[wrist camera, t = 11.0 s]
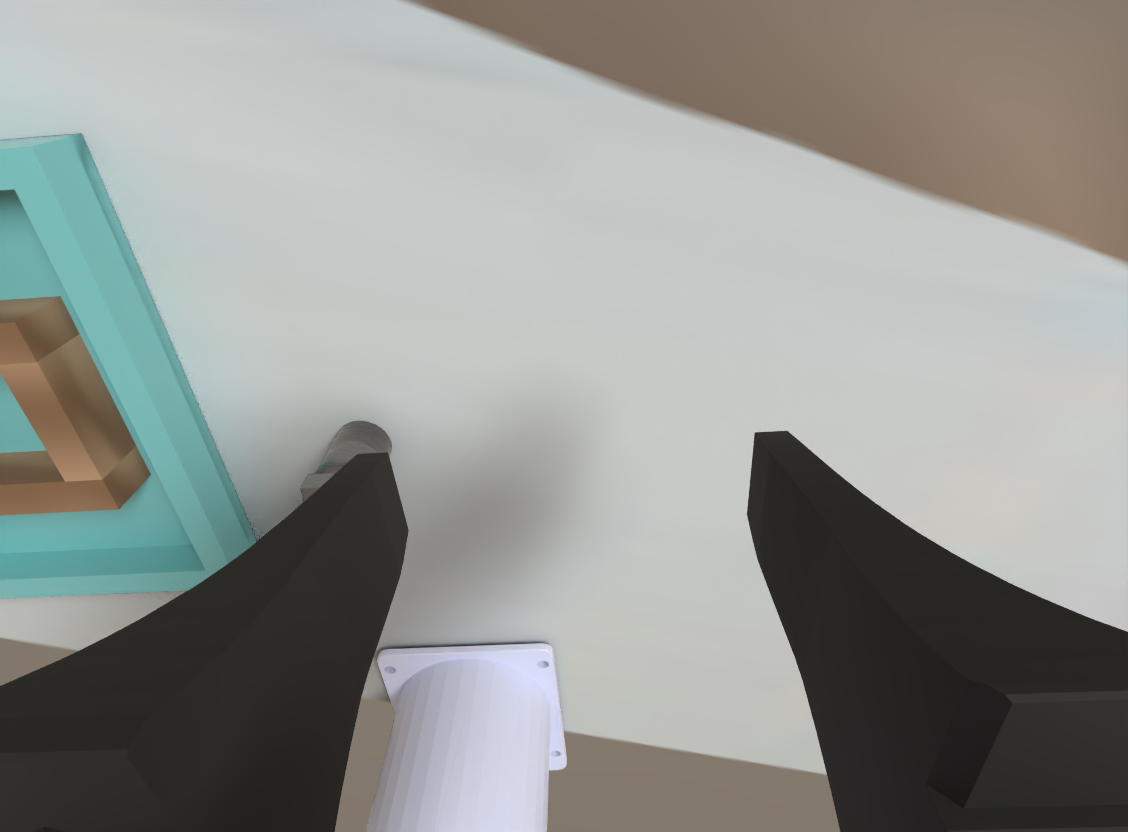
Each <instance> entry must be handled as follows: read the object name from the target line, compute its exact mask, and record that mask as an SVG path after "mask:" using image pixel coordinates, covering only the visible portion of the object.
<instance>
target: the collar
mask: <svg viewBox="0 0 1128 832" xmlns="http://www.w3.org/2000/svg"><path fill="white" fill-rule="evenodd" d="M0 373H1V375H2V377H3V378H4V380H5V382H6V383H7V385H8V387H9V388H10V390H11V392H12V393H13V395H14V397H15V399H16V400H17V402H18V404H19V405H20V407H21V409H22V410H23V412H24V414H25V415H26V417H27V419H28V420H29V422H30V424H31V425H32V427H33V429H34V430H35V432H36V434H37V435H38V437H39V439H40V440H41V442H42V444H43V445H44V447H45V449H46V451H28V452H10V453H0V516H2V515H22V514H43V513H63V512H83V511H103V510H119V509H120V508H121V507H122V506H123V505H124V504H125V503H126V502H127V501H128V499H129V498H130V497H131V496H132V495H133V494H134V493H135V492H136V491H137V489H138V488H139V487H140V486H141V485H142V484H143V483H144V482H145V481H146V479H147V478H148V477H149V476H150V475H151V473H150V471H149V469H148V468H147V466H146V464H145V462H144V460H143V458H142V456H141V454H140V452H139V450H138V448H137V446H136V444H135V442H134V440H133V438H132V436H131V434H130V432H129V430H128V428H127V426H126V424H125V422H124V420H123V418H122V416H121V414H120V412H119V410H118V408H117V406H116V404H115V402H114V400H113V398H112V396H111V395H110V393H109V391H108V389H107V387H106V385H105V383H104V381H103V379H102V377H101V375H100V373H99V371H98V369H97V367H96V365H95V363H94V361H93V359H92V357H91V355H90V353H89V351H88V349H87V347H86V345H85V343H84V341H83V339H82V337H81V335H80V333H79V331H78V329H77V327H76V325H75V323H74V322H73V320H72V318H71V316H70V314H69V312H68V310H67V308H66V306H65V304H64V302H63V300H62V298H61V296H55V297H40V298H25V299H10V300H0Z"/></svg>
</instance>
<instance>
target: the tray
mask: <svg viewBox="0 0 1128 832" xmlns="http://www.w3.org/2000/svg"><path fill="white" fill-rule="evenodd" d="M55 296H61V298H62V300H63V302H64V304H65V306H66V308H67V310H68V312H69V314H70V316H71V318H72V320H73V322H74V323H75V325H76V327H77V329H78V331H79V333H80V335H81V337H82V339H83V341H84V343H85V345H86V347H87V349H88V351H89V353H90V355H91V357H92V359H93V361H94V363H95V365H96V367H97V369H98V371H99V373H100V375H101V377H102V379H103V381H104V383H105V385H106V387H107V389H108V391H109V393H110V395H111V396H112V398H113V400H114V402H115V404H116V406H117V408H118V410H119V412H120V414H121V416H122V418H123V420H124V422H125V424H126V426H127V428H128V430H129V432H130V434H131V436H132V438H133V440H134V442H135V444H136V446H137V448H138V450H139V452H140V454H141V456H142V458H143V460H144V462H145V464H146V466H147V468H148V469H149V471H150V473H151V475H150V476H149V477H148V478H147V479H146V481H145V482H144V483H143V484H142V485H141V486H140V487H139V488H138V489H137V491H136V492H135V493H134V494H133V495H132V496H131V497H130V498H129V499H128V501H127V502H126V503H125V504H124V505H123V506H122V507H121V508H120V509H119V510H103V511H83V512H63V513H43V514H22V515H2V516H0V599H6V598H29V597H52V596H75V595H98V594H121V593H144V592H166V591H188V590H190V589H191V588H193V587H195V586H196V585H198V584H199V583H201V582H202V581H204V580H205V579H207V578H208V577H209V576H211V575H212V574H214V573H215V572H217V571H218V570H220V569H221V568H223V567H224V566H225V565H227V564H228V563H230V562H231V561H232V560H234V559H235V558H236V557H238V556H239V555H240V554H242V553H243V552H244V551H246V550H247V549H248V548H250V547H251V546H252V545H253V544H255V543H256V542H257V541H256V538H255V536H254V534H253V531H252V529H251V527H250V524H249V522H248V520H247V517H246V515H245V513H244V510H243V508H242V506H241V503H240V501H239V499H238V496H237V494H236V492H235V489H234V487H233V485H232V483H231V480H230V478H229V476H228V473H227V471H226V469H225V466H224V464H223V462H222V459H221V457H220V455H219V452H218V450H217V448H216V445H215V443H214V441H213V438H212V436H211V434H210V431H209V429H208V427H207V424H206V422H205V420H204V417H203V415H202V413H201V410H200V408H199V406H198V403H197V401H196V399H195V396H194V394H193V392H192V390H191V387H190V385H189V383H188V380H187V378H186V376H185V373H184V371H183V369H182V366H181V364H180V362H179V359H178V357H177V355H176V352H175V350H174V348H173V345H172V343H171V341H170V338H169V336H168V334H167V331H166V329H165V327H164V324H163V322H162V320H161V317H160V315H159V313H158V310H157V308H156V306H155V303H154V301H153V299H152V297H151V294H150V292H149V290H148V287H147V285H146V283H145V280H144V278H143V276H142V273H141V271H140V269H139V266H138V264H137V262H136V259H135V257H134V255H133V252H132V250H131V248H130V245H129V243H128V241H127V238H126V236H125V234H124V231H123V229H122V227H121V224H120V222H119V220H118V217H117V215H116V213H115V210H114V208H113V206H112V203H111V201H110V199H109V197H108V194H107V192H106V190H105V187H104V185H103V183H102V180H101V178H100V176H99V173H98V171H97V169H96V166H95V164H94V162H93V159H92V157H91V155H90V152H89V150H88V148H87V145H86V143H85V141H84V138H83V136H82V134H81V133H80V134H68V135H55V136H43V137H30V138H18V139H6V140H0V300H10V299H25V298H40V297H55ZM28 451H46V449H45V447H44V445H43V444H42V442H41V440H40V439H39V437H38V435H37V434H36V432H35V430H34V429H33V427H32V425H31V424H30V422H29V420H28V419H27V417H26V415H25V414H24V412H23V410H22V409H21V407H20V405H19V404H18V402H17V400H16V399H15V397H14V395H13V393H12V392H11V390H10V388H9V387H8V385H7V383H6V382H5V380H4V378H3V377H2V375H1V373H0V453H10V452H28Z"/></svg>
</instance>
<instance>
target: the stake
mask: <svg viewBox="0 0 1128 832" xmlns="http://www.w3.org/2000/svg"><path fill="white" fill-rule="evenodd" d="M391 450H392V445H391V441H390V439H389V437H388V435H387V434H386V433H385V431H383V430H382V429H381V428H380V427H378V426H376V425H374V424H372V423H369V422H364V421H355V422H351V423H348V424H346V425H344V426H343V427H342V428H341V429H340V430H339V432H338V434H337V436H336V437H335V439H334V441H333V443H332V445H331V446H330V448H329V450H328V452H327V454H326V456H325V457H324V459H323V461H322V463H321V465H320V466H319V468H318V470H317V472H316V474H308V476H307V477H306V479H305V481H304V483H303V484H302V486H301V488H300V489H301V492H302V495H303V502H304V501H306V500H307V499H308V498H309V497H310V496H311V495H312V494H313V493H314V492H316V491H317V490H318V489H319V488H320V487H321V486H322V485H323V484H324V483H325V482H327V481H328V480H329V479H330V478H331V477H332V476H333V475H334V474H335V473H336V472H337V471H339V470H340V469H341V468H342V467H343V466H344V465H345V464H346V463H347V462H349V461H350V460H351V459H352V458H353V457H355V456H356V455H357V454H365V453H383V452H388V455H389V456H390V454H391Z"/></svg>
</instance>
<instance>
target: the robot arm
mask: <svg viewBox="0 0 1128 832" xmlns="http://www.w3.org/2000/svg"><path fill="white" fill-rule="evenodd" d="M747 516H748V521H749V525H750V530H751V534H752V539H753V543H754V547H755V551H756V555H757V559H758V562H759V564H760V567H761V570H762V573H763V575H764V578H765V581H766V583H767V586H768V588H769V591H770V594H771V596H772V599H773V602H774V604H775V607H776V609H777V612H778V615H779V617H780V620H781V622H782V625H783V628H784V630H785V633H786V635H787V638H788V641H789V643H790V646H791V648H792V651H793V654H794V656H795V659H796V662H797V665H798V668H799V671H800V674H801V677H802V680H803V683H804V687H805V691H806V694H807V698H808V702H809V706H810V709H811V713H812V717H813V720H814V724H815V728H816V732H817V736H818V740H819V744H820V748H821V752H822V756H823V760H824V764H825V768H826V772H827V776H828V780H829V784H830V788H831V792H832V797H833V801H834V805H835V810H836V814H837V818H838V823H839V827H840V832H1128V632H1127V631H1124V630H1121V629H1118V628H1115V627H1113V626H1110V625H1107V624H1104V623H1102V622H1099V621H1096V620H1093V619H1091V618H1088V617H1086V616H1083V615H1081V614H1079V613H1076V612H1074V611H1071V610H1069V609H1067V608H1064V607H1062V606H1060V605H1057V604H1055V603H1052V602H1050V601H1048V600H1045V599H1043V598H1041V597H1038V596H1036V595H1034V594H1032V593H1030V592H1028V591H1025V590H1023V589H1021V588H1019V587H1017V586H1015V585H1012V584H1010V583H1008V582H1006V581H1004V580H1002V579H1000V578H999V577H997V576H995V575H993V574H991V573H989V572H987V571H985V570H983V569H981V568H979V567H977V566H975V565H973V564H971V563H969V562H967V561H966V560H964V559H962V558H960V557H958V556H956V555H955V554H953V553H951V552H950V551H948V550H946V549H945V548H943V547H941V546H940V545H938V544H936V543H935V542H933V541H931V540H930V539H928V538H926V537H925V536H923V535H921V534H920V533H918V532H916V531H915V530H913V529H912V528H910V527H909V526H907V525H906V524H904V523H903V522H901V521H900V520H898V519H897V518H896V517H894V516H893V515H891V514H890V513H889V512H887V511H886V510H884V509H883V508H881V507H880V506H879V505H877V504H876V503H874V502H873V501H872V500H871V499H869V498H868V497H867V496H865V495H864V494H863V493H861V492H860V491H859V490H857V489H856V488H855V487H854V486H852V485H851V484H850V483H849V482H847V481H846V480H845V479H844V478H842V477H841V476H840V475H839V474H837V473H836V472H835V471H834V470H833V469H831V468H830V467H829V466H828V465H827V464H826V463H824V462H823V461H822V460H821V459H820V458H818V457H817V456H816V455H815V454H814V453H813V452H811V451H810V450H809V449H808V448H807V447H806V446H804V445H803V444H802V443H801V442H800V441H799V440H798V439H796V438H795V437H794V436H793V435H792V434H790V433H789V432H788V431H775V432H756V433H755V437H754V447H753V458H752V468H751V478H750V489H749V499H748V510H747ZM407 536H408V527H407V523H406V519H405V515H404V512H403V508H402V504H401V500H400V496H399V493H398V489H397V485H396V481H395V477H394V474H393V470H392V466H391V462H390V458H389V455H388V452H383V453H365V454H357V455H356V456H355V457H353V458H352V459H351V460H350V461H349V462H347V463H346V464H345V465H344V466H343V467H342V468H341V469H340V470H339V471H337V472H336V473H335V474H334V475H333V476H332V477H331V478H330V479H329V480H328V481H327V482H325V483H324V484H323V485H322V486H321V487H320V488H319V489H318V490H317V491H316V492H314V493H313V494H312V495H311V496H310V497H309V498H308V499H307V500H306V501H304V502H303V503H302V504H301V505H300V506H299V507H298V508H297V509H295V510H294V511H293V512H292V513H291V514H290V515H289V516H288V517H286V518H285V519H284V520H283V521H281V522H280V523H279V524H278V525H277V526H275V527H274V528H273V529H272V530H270V531H269V532H268V533H267V534H266V535H264V536H263V537H262V538H261V539H259V540H258V541H257V542H256V543H255V544H253V545H252V546H251V547H250V548H248V549H247V550H246V551H244V552H243V553H242V554H240V555H239V556H238V557H236V558H235V559H234V560H232V561H231V562H230V563H228V564H227V565H225V566H224V567H223V568H221V569H220V570H218V571H217V572H215V573H214V574H212V575H211V576H209V577H208V578H207V579H205V580H204V581H202V582H201V583H199V584H198V585H196V586H195V587H193V588H191V589H190V590H188V591H186V592H185V593H183V594H181V595H180V596H178V597H176V598H175V599H173V600H171V601H170V602H168V603H166V604H165V605H163V606H161V607H160V608H158V609H156V610H155V611H153V612H151V613H150V614H148V615H146V616H145V617H143V618H141V619H140V620H138V621H136V622H134V623H132V624H130V625H128V626H127V627H125V628H123V629H121V630H119V631H117V632H115V633H114V634H112V635H110V636H108V637H106V638H104V639H102V640H100V641H98V642H96V643H94V644H92V645H90V646H88V647H86V648H84V649H82V650H80V651H78V652H76V653H74V654H72V655H70V656H67V657H65V658H63V659H61V660H59V661H56V662H54V663H52V664H50V665H47V666H45V667H43V668H40V669H38V670H36V671H34V672H31V673H29V674H27V675H24V676H22V677H20V678H18V679H15V680H13V681H11V682H9V683H6V684H4V685H2V686H0V832H334V831H335V825H336V820H337V814H338V808H339V802H340V797H341V791H342V786H343V781H344V776H345V771H346V766H347V761H348V756H349V751H350V746H351V741H352V736H353V731H354V727H355V722H356V718H357V714H358V709H359V704H360V700H361V696H362V692H363V689H364V685H365V682H366V678H367V675H368V672H369V669H370V666H371V663H372V660H373V657H374V654H375V651H376V648H377V645H378V642H379V639H380V636H381V633H382V630H383V627H384V624H385V621H386V618H387V615H388V612H389V609H390V606H391V603H392V600H393V597H394V594H395V590H396V587H397V584H398V581H399V578H400V574H401V569H402V564H403V559H404V554H405V548H406V542H407ZM377 664H378V667H379V669H380V672H381V675H382V678H383V681H384V684H385V687H386V690H387V693H388V696H389V698H390V701H391V704H392V707H393V710H394V713H395V719H394V723H393V727H392V731H391V735H390V739H389V743H388V747H387V750H386V754H385V758H384V763H383V766H382V770H381V774H380V778H379V782H378V786H377V790H376V794H375V798H374V802H373V806H372V810H371V814H370V818H369V822H368V826H367V830H366V832H547V810H548V780H549V779H548V778H549V777H548V776H549V770H560V769H563V768H565V767H566V765H567V757H566V748H565V740H564V732H563V724H562V716H561V708H560V700H559V692H558V684H557V676H556V668H555V660H554V652H553V649H552V647H551V646H550V645H548V644H544V643H535V644H508V645H482V646H456V647H430V648H404V649H386V650H382V651H381V652H380V653H379V655H378V658H377Z"/></svg>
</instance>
